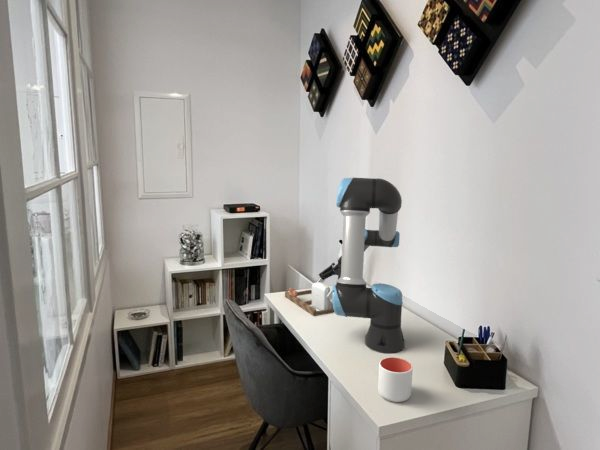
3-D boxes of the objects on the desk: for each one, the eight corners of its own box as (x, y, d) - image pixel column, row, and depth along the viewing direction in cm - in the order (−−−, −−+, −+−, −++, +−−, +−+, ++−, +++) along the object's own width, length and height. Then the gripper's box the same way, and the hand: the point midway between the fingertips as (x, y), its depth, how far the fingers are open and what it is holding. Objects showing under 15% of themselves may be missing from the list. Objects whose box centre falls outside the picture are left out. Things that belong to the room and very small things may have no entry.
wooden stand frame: (341, 310, 202) (341, 298, 201) (313, 316, 195) (313, 303, 194) (310, 292, 228) (310, 281, 227) (285, 296, 221) (285, 285, 220)
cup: (395, 407, 126) (397, 376, 125) (371, 392, 134) (372, 362, 133) (417, 396, 132) (419, 366, 130) (392, 382, 140) (394, 354, 138)
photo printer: (310, 305, 208) (310, 281, 206) (316, 304, 211) (317, 279, 209) (324, 312, 200) (325, 286, 198) (331, 310, 203) (331, 285, 201)
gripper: (367, 270, 201) (340, 306, 196) (338, 258, 222) (312, 290, 218) (359, 260, 197) (330, 297, 193) (330, 249, 219) (303, 281, 214)
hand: (321, 293), depth 205 cm, fingers open, 13 cm apart
